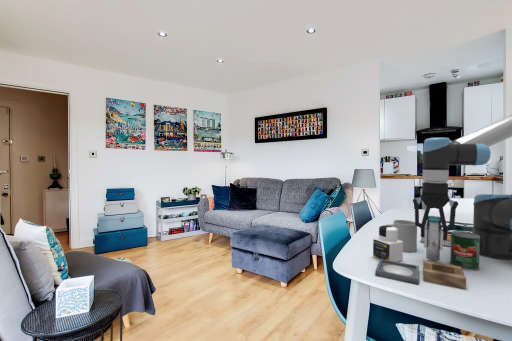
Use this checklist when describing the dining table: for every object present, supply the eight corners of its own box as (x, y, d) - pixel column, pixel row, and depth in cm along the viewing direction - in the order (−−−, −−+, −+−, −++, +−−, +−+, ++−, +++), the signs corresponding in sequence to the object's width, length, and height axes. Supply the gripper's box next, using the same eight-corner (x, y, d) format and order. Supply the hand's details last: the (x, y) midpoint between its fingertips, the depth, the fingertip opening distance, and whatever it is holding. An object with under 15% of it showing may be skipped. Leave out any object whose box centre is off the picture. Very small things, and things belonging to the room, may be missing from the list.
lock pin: (440, 258, 94) (441, 216, 94) (441, 262, 90) (442, 219, 90) (425, 255, 97) (426, 215, 96) (425, 259, 93) (426, 217, 92)
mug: (417, 247, 109) (417, 221, 109) (416, 253, 102) (416, 225, 101) (385, 242, 116) (385, 218, 115) (382, 248, 108) (382, 221, 108)
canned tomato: (472, 262, 93) (473, 232, 93) (484, 271, 86) (485, 238, 85) (446, 260, 95) (446, 230, 95) (455, 268, 88) (456, 236, 88)
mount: (460, 276, 82) (461, 266, 82) (465, 289, 74) (466, 278, 74) (423, 269, 88) (423, 260, 87) (423, 280, 79) (423, 270, 79)
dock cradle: (418, 270, 86) (418, 265, 86) (418, 284, 76) (418, 279, 76) (380, 263, 92) (380, 258, 92) (375, 275, 83) (375, 270, 83)
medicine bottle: (372, 256, 99) (373, 225, 98) (386, 254, 101) (387, 223, 101) (388, 263, 92) (389, 229, 92) (403, 260, 95) (403, 227, 94)
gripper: (464, 182, 91) (461, 249, 92) (407, 180, 100) (406, 241, 101) (467, 184, 85) (465, 255, 86) (406, 181, 94) (405, 246, 95)
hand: (433, 247), depth 93 cm, fingers closed on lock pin, 4 cm apart
